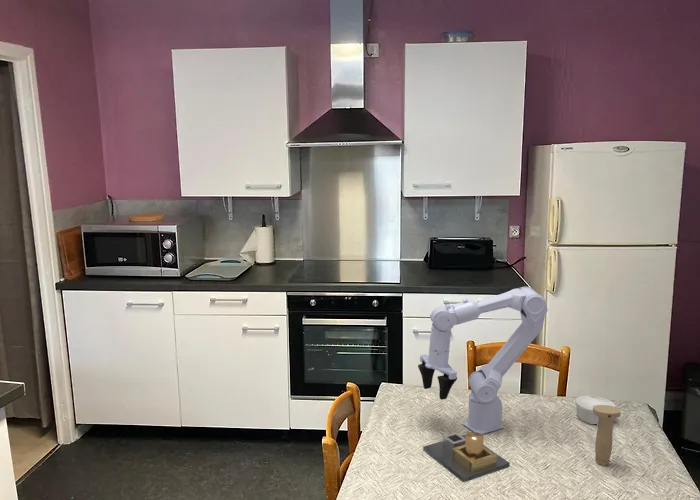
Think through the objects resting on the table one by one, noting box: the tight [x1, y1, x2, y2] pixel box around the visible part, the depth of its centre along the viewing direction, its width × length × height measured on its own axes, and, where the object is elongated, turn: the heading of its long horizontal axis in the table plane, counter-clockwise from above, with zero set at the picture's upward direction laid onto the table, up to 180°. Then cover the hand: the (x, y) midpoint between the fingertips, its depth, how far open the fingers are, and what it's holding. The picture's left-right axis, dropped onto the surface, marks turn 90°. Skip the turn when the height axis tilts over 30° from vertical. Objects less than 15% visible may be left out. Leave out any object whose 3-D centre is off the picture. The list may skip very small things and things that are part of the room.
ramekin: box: [574, 394, 617, 425], centre depth 172 cm, size 11×11×5 cm
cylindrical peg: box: [465, 431, 485, 460], centre depth 146 cm, size 4×4×7 cm
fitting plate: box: [422, 432, 511, 483], centre depth 150 cm, size 15×17×4 cm
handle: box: [593, 405, 622, 467], centre depth 146 cm, size 5×6×15 cm
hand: (435, 393), depth 165 cm, fingers open, 7 cm apart
